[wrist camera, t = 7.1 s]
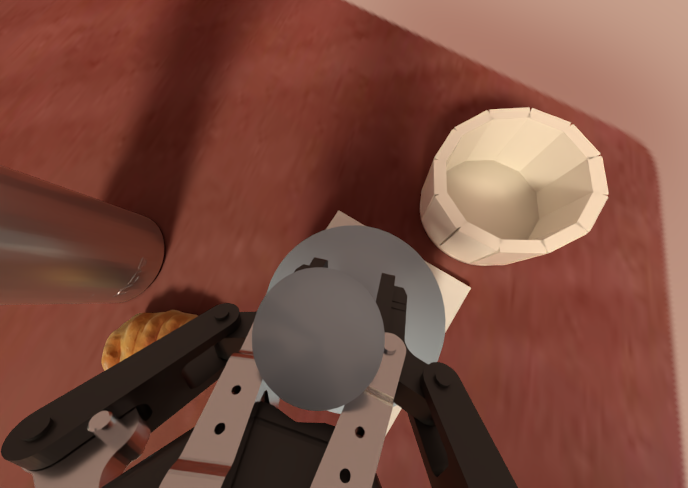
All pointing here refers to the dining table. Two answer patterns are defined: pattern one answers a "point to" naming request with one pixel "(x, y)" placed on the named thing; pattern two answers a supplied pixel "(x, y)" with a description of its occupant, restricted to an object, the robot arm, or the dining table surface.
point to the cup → (511, 187)
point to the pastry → (141, 334)
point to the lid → (341, 316)
